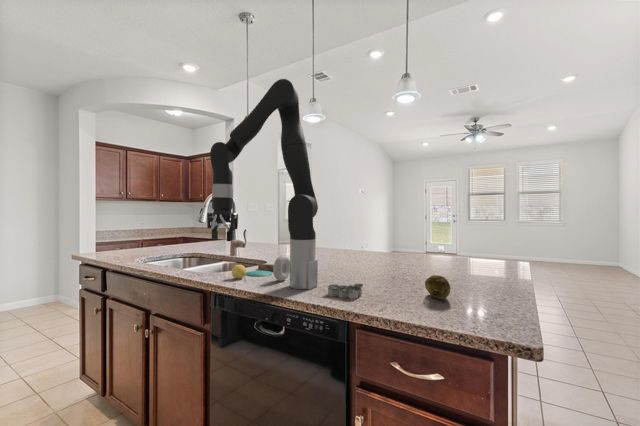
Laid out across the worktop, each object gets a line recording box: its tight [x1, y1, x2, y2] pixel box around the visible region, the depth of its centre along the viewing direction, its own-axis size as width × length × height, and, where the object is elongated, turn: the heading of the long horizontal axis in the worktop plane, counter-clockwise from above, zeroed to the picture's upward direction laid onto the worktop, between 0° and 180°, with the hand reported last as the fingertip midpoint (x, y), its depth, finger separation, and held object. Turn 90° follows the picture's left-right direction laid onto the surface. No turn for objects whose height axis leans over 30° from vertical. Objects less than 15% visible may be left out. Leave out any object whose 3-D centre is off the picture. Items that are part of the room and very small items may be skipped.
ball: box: [231, 264, 247, 280], centre depth 124 cm, size 6×6×6 cm
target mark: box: [245, 270, 273, 277], centre depth 134 cm, size 12×12×1 cm
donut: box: [272, 254, 290, 282], centre depth 121 cm, size 10×4×10 cm, turn 155°
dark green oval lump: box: [424, 274, 451, 300], centre depth 97 cm, size 8×13×8 cm, turn 149°
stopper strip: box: [257, 262, 274, 272], centre depth 142 cm, size 14×2×2 cm, turn 61°
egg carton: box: [327, 283, 364, 300], centre depth 100 cm, size 11×8×4 cm
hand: (221, 240), depth 116 cm, fingers open, 7 cm apart
